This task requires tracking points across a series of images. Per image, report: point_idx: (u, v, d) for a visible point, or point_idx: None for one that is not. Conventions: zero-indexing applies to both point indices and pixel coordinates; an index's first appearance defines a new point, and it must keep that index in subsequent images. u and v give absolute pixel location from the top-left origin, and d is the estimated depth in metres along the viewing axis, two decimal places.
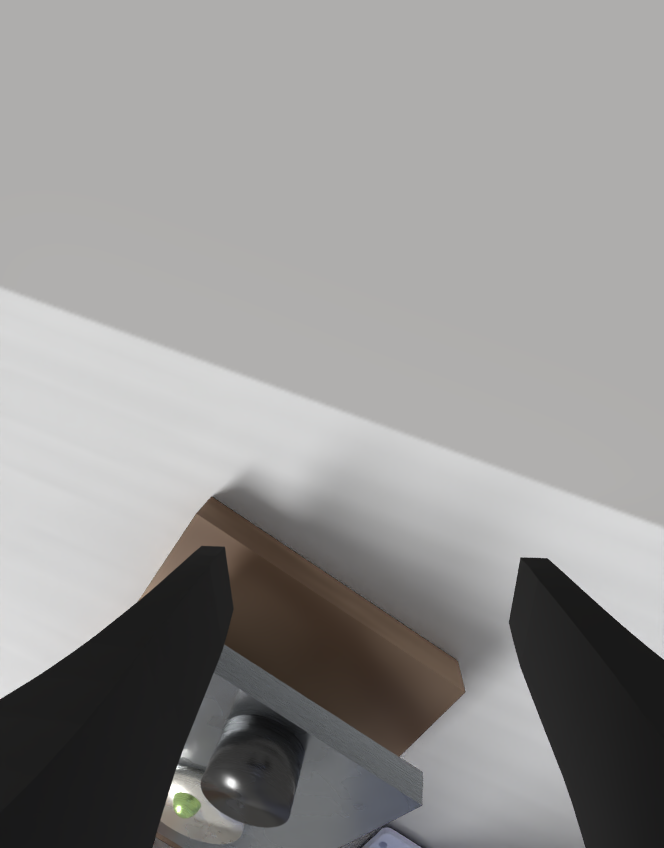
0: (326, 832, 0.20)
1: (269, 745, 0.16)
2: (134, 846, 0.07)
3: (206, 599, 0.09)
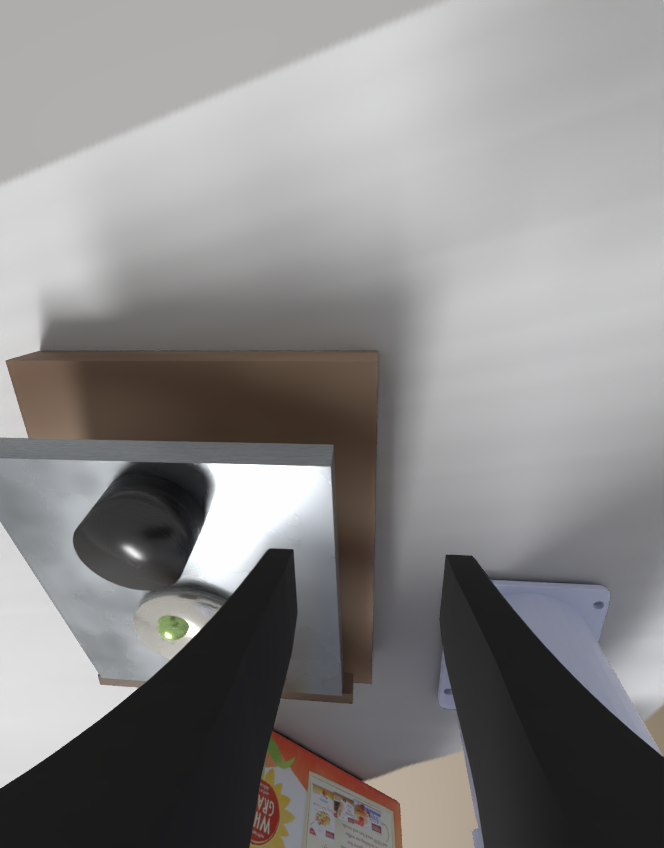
0: (308, 578, 0.17)
1: (119, 491, 0.14)
2: None
3: (282, 603, 0.09)
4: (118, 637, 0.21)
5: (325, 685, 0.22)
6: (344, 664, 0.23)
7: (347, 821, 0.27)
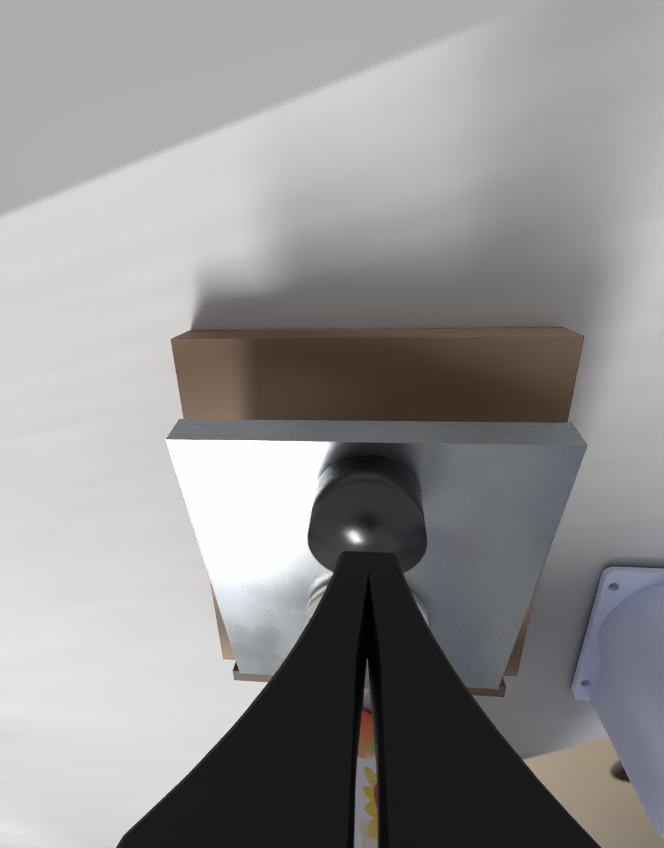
0: (512, 566, 0.16)
1: (356, 473, 0.13)
2: None
3: (366, 606, 0.09)
4: (274, 630, 0.20)
5: (483, 678, 0.21)
6: None
7: None
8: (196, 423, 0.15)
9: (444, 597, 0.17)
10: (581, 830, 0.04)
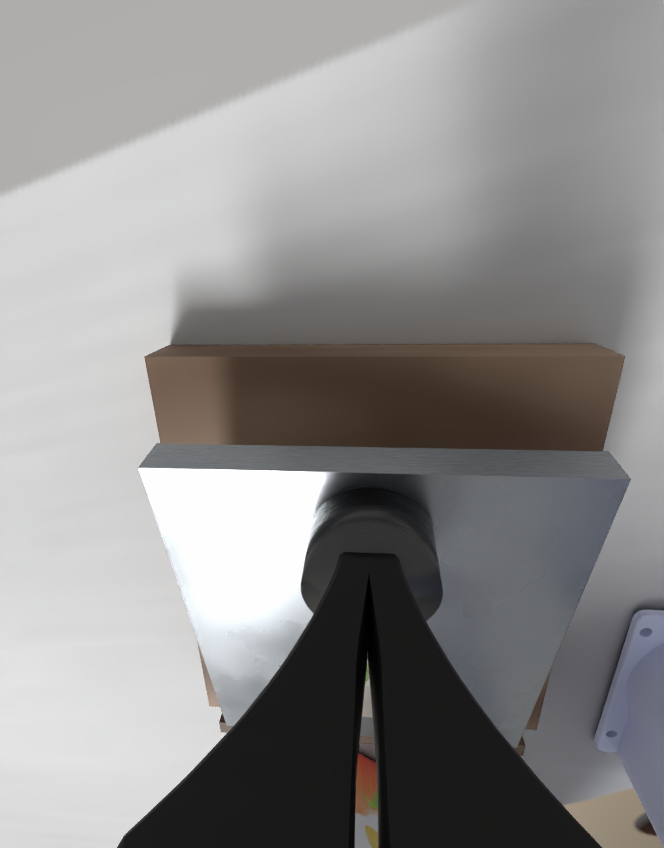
0: (537, 614, 0.14)
1: (359, 510, 0.11)
2: None
3: (366, 607, 0.09)
4: (264, 680, 0.17)
5: None
6: None
7: None
8: (175, 448, 0.13)
9: (458, 647, 0.15)
10: (582, 830, 0.04)
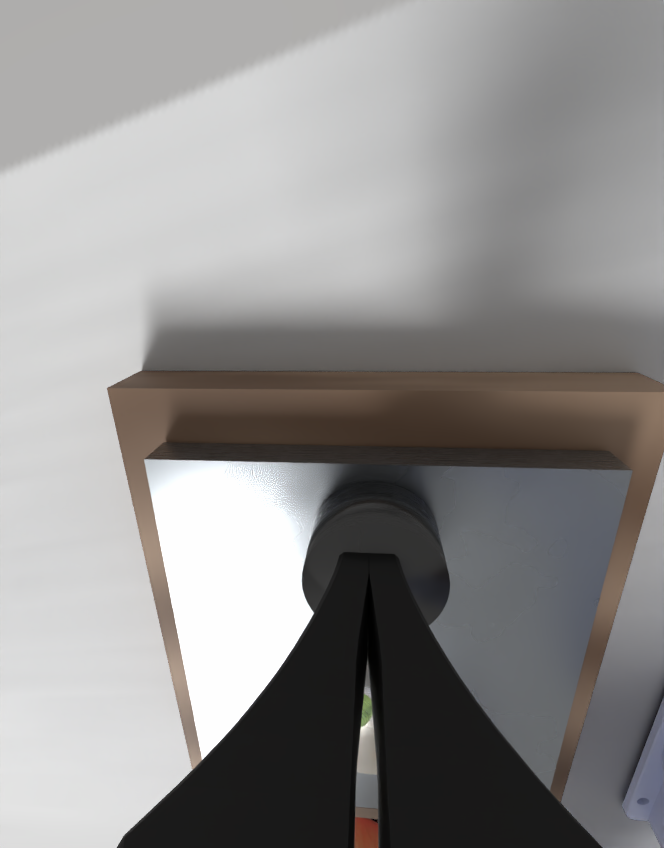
0: (551, 636, 0.13)
1: (362, 498, 0.11)
2: None
3: (366, 606, 0.09)
4: None
5: None
6: None
7: None
8: (181, 445, 0.13)
9: (469, 680, 0.14)
10: (583, 830, 0.04)
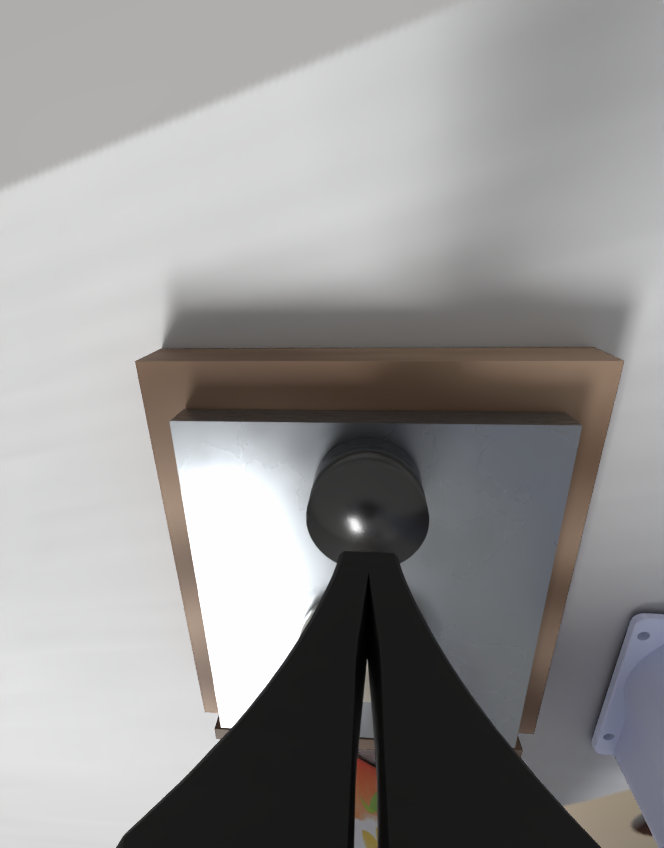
0: (519, 573, 0.15)
1: (356, 450, 0.13)
2: None
3: (366, 606, 0.09)
4: (263, 664, 0.18)
5: None
6: None
7: None
8: (200, 411, 0.15)
9: (450, 615, 0.16)
10: (581, 830, 0.04)
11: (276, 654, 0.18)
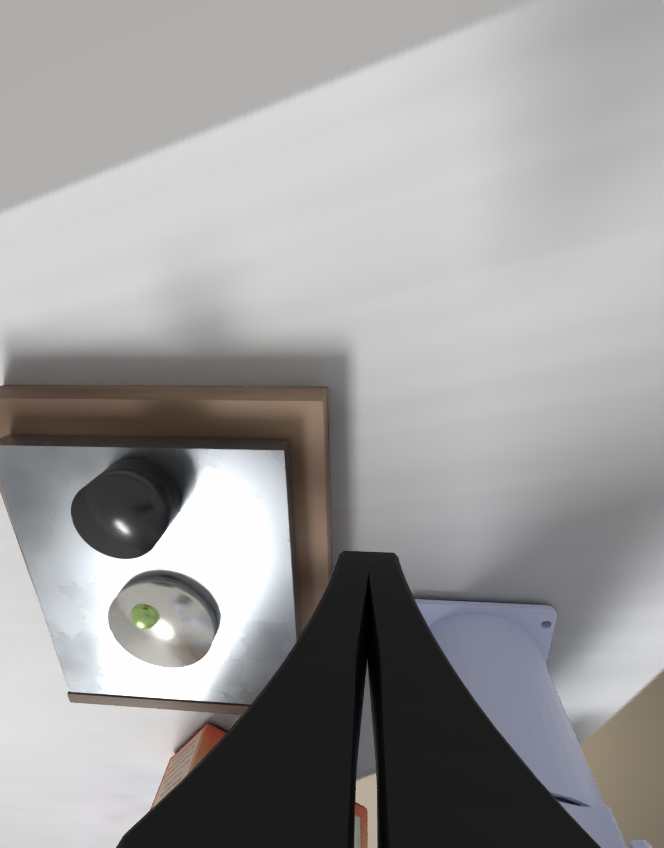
0: (267, 563, 0.20)
1: (114, 468, 0.17)
2: None
3: (366, 606, 0.09)
4: (92, 637, 0.22)
5: None
6: None
7: None
8: (17, 436, 0.19)
9: (224, 596, 0.20)
10: (581, 830, 0.04)
11: (100, 629, 0.22)
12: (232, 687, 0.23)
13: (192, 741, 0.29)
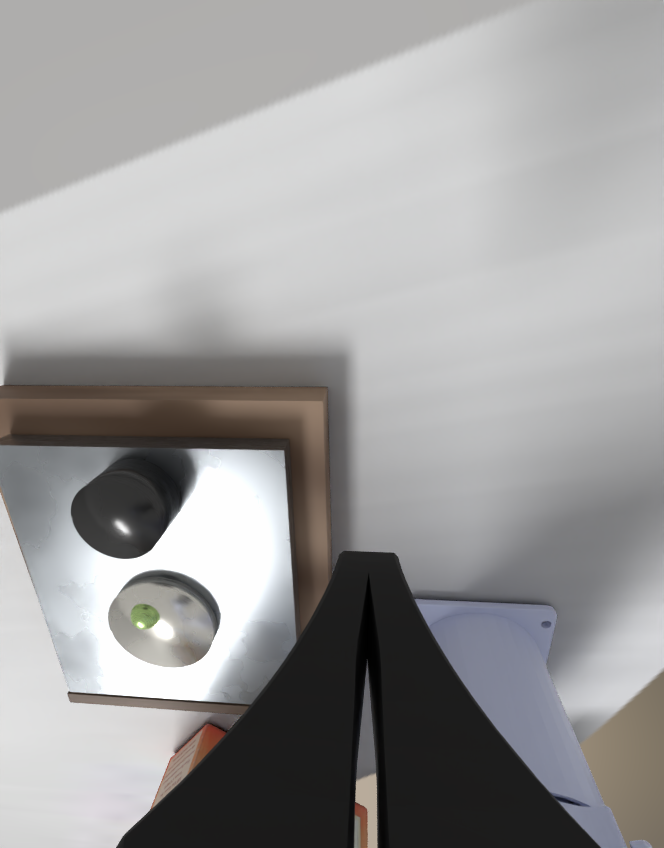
0: (267, 563, 0.20)
1: (114, 468, 0.17)
2: None
3: (366, 606, 0.09)
4: (92, 637, 0.22)
5: None
6: None
7: None
8: (17, 436, 0.19)
9: (224, 596, 0.20)
10: (581, 830, 0.04)
11: (100, 629, 0.22)
12: (232, 687, 0.23)
13: (192, 741, 0.29)
